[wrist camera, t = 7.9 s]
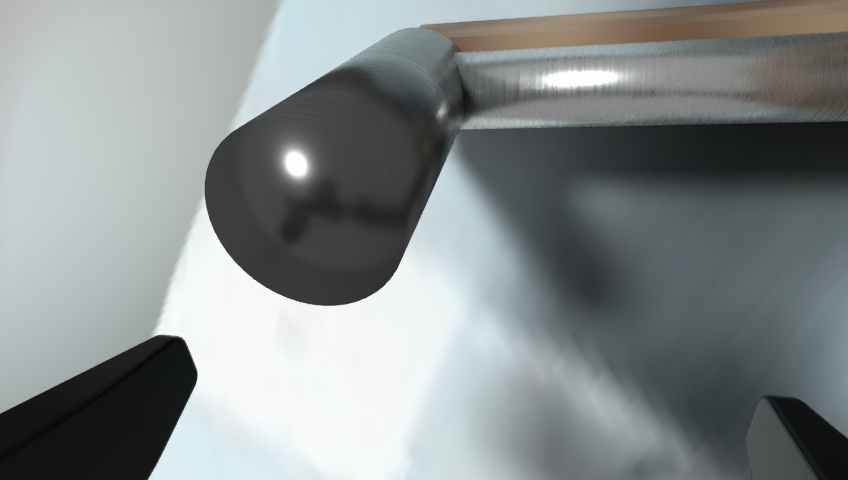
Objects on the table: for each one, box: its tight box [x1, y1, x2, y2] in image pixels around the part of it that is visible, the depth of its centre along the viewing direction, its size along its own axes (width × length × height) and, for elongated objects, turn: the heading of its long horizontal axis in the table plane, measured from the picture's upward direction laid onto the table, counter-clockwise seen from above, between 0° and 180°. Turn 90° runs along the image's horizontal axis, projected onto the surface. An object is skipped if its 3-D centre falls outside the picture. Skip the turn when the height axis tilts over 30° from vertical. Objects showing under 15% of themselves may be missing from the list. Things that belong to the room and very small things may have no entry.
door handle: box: [205, 28, 848, 306], centre depth 10 cm, size 13×3×8 cm, turn 95°
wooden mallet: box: [419, 0, 848, 52], centre depth 12 cm, size 18×10×9 cm, turn 95°
